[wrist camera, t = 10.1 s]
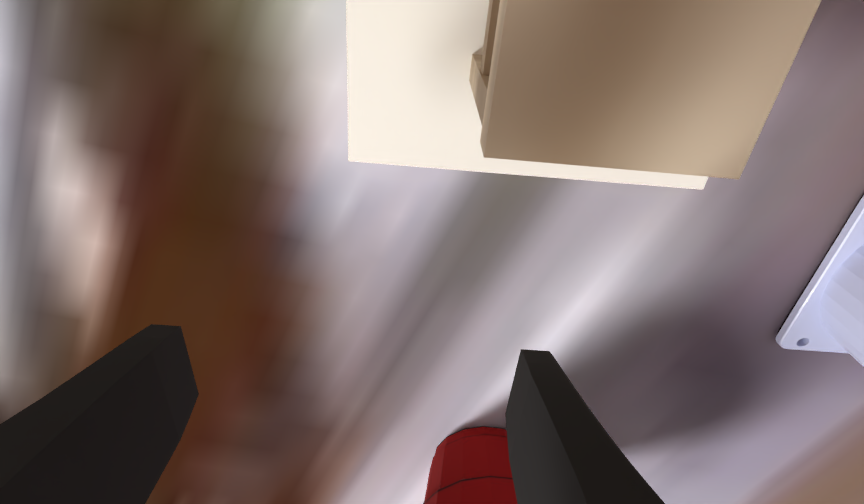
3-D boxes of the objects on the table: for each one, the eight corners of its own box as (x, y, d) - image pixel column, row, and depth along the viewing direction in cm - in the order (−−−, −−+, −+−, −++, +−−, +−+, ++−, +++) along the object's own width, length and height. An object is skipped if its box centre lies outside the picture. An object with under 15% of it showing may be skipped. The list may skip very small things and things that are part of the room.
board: (851, -215, 12) (876, -226, 11) (692, 181, 18) (702, 189, 17) (347, -270, 12) (341, -285, 11) (351, 153, 17) (348, 161, 17)
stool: (678, -98, 13) (893, -158, 7) (621, 97, 15) (739, 179, 9) (489, -118, 12) (537, -199, 6) (465, 83, 15) (483, 157, 9)
